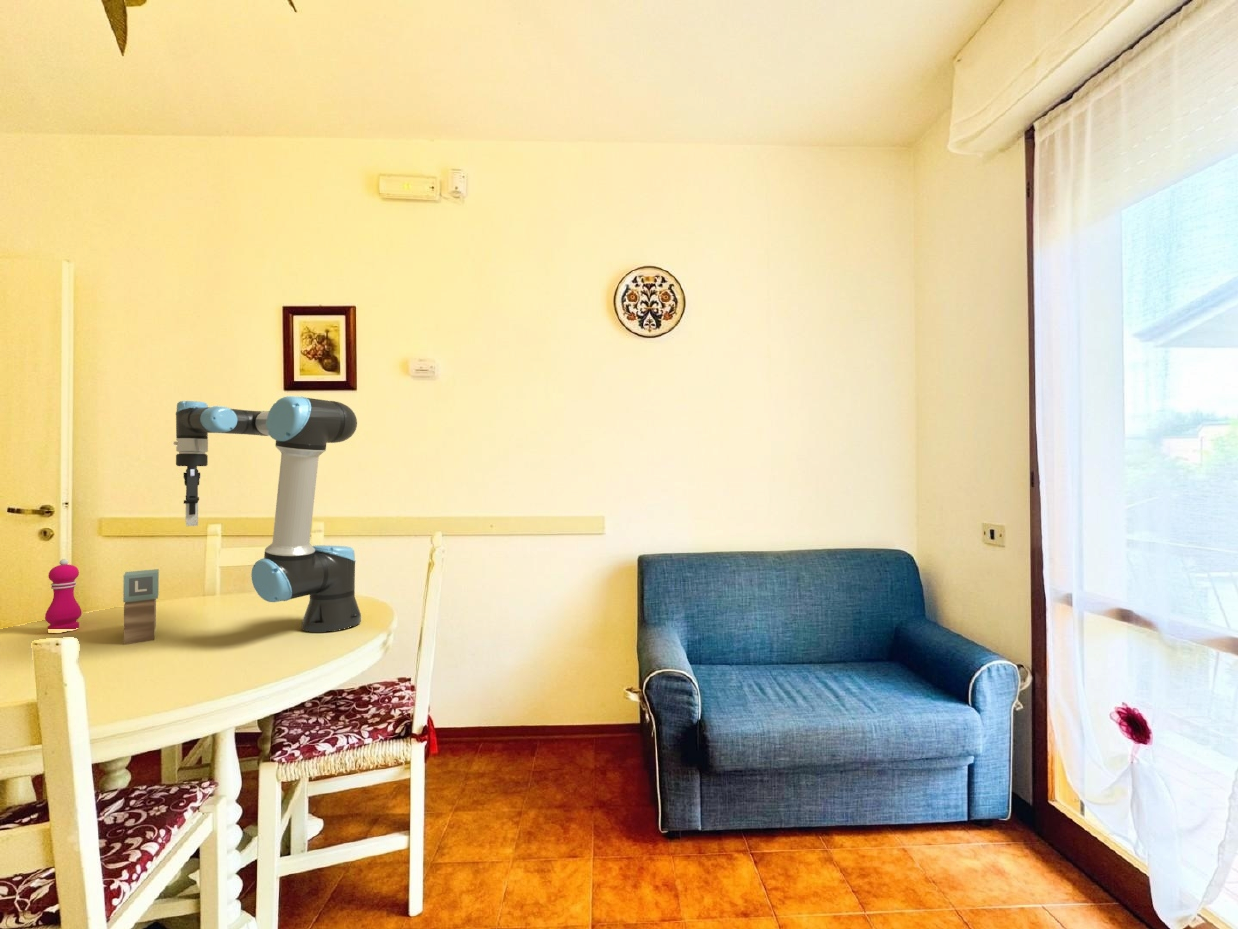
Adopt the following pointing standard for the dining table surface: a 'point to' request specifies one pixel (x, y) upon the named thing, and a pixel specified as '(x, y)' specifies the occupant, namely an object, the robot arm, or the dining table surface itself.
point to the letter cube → (141, 585)
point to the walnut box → (139, 621)
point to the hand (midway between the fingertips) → (191, 524)
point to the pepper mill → (63, 597)
